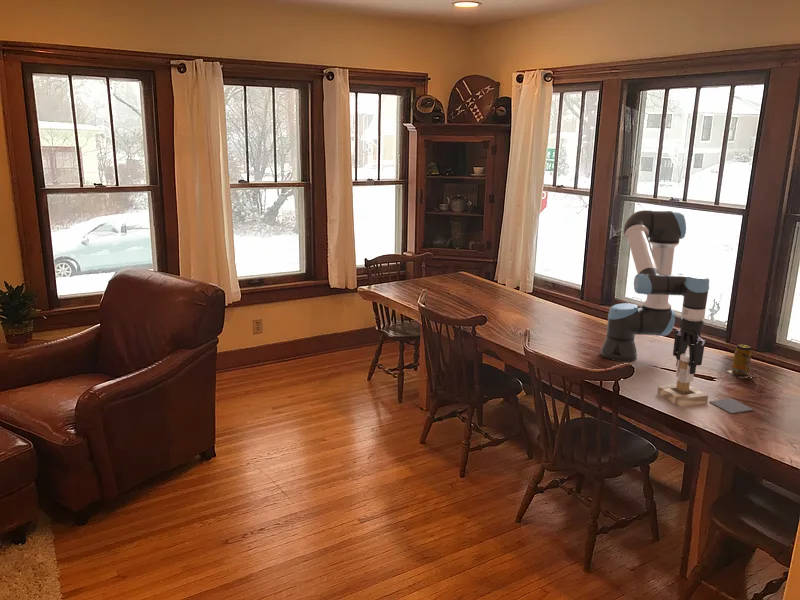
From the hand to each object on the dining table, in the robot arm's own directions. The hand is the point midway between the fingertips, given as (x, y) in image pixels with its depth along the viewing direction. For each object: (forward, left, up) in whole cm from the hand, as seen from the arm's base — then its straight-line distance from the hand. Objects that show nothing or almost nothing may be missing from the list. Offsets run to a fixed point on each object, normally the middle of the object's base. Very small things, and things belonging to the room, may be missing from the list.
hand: (684, 378), depth 228 cm
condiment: (-13, +41, -8) cm, 44 cm away
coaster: (+11, +12, -8) cm, 18 cm away
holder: (0, 0, -8) cm, 8 cm away
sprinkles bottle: (0, 0, -4) cm, 4 cm away
